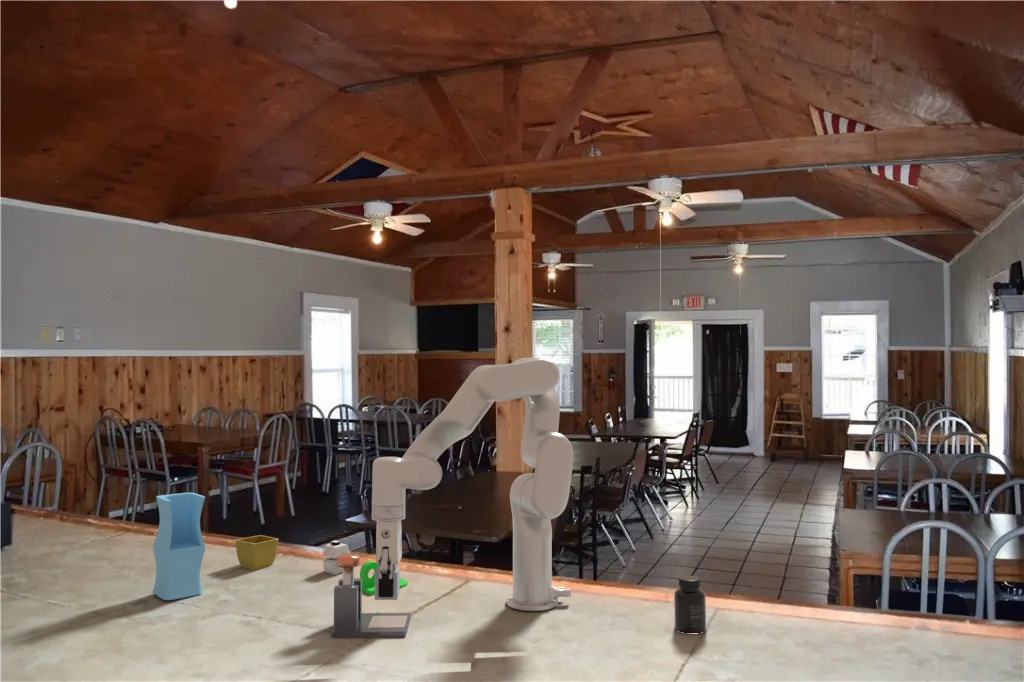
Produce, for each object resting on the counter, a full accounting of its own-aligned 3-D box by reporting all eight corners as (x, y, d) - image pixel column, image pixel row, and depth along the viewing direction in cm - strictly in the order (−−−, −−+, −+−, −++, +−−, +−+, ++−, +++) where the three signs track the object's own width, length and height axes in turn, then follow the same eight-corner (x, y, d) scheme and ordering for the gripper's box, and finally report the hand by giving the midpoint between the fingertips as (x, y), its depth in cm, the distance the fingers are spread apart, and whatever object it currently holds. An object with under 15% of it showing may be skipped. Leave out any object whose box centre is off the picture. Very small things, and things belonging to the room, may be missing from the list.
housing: (399, 593, 181) (399, 564, 181) (397, 599, 176) (397, 570, 176) (377, 593, 180) (377, 564, 181) (374, 599, 175) (374, 570, 176)
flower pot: (260, 565, 233) (260, 534, 233) (279, 569, 228) (279, 538, 228) (234, 571, 226) (234, 539, 226) (253, 576, 221) (253, 543, 221)
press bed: (410, 617, 185) (410, 574, 185) (405, 636, 172) (405, 590, 172) (341, 618, 184) (342, 575, 184) (331, 638, 171) (331, 591, 171)
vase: (164, 601, 198) (166, 500, 198) (152, 592, 205) (153, 496, 206) (204, 593, 204) (205, 496, 205) (191, 585, 211) (192, 492, 212)
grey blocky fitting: (351, 575, 221) (352, 540, 222) (334, 581, 216) (335, 544, 216) (336, 572, 224) (336, 537, 225) (319, 578, 219) (319, 541, 219)
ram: (360, 606, 180) (361, 553, 181) (357, 613, 175) (357, 558, 176) (338, 606, 180) (339, 553, 180) (334, 613, 175) (335, 559, 175)
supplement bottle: (707, 629, 177) (707, 575, 177) (704, 639, 170) (704, 583, 171) (676, 626, 179) (676, 572, 179) (672, 635, 173) (672, 580, 173)
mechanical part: (370, 599, 200) (370, 567, 200) (359, 593, 205) (360, 562, 205) (411, 591, 207) (411, 560, 208) (400, 585, 212) (400, 555, 212)
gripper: (401, 519, 170) (400, 604, 170) (408, 505, 187) (407, 582, 187) (366, 519, 170) (365, 604, 169) (376, 505, 187) (375, 582, 186)
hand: (387, 592), depth 178 cm, fingers closed on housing, 4 cm apart
